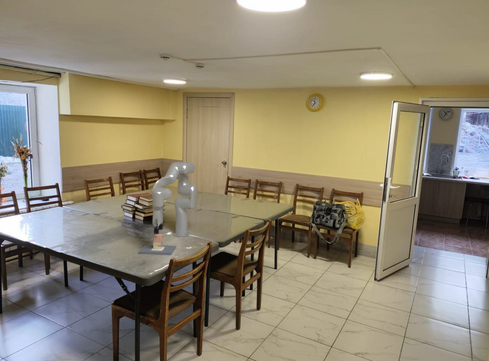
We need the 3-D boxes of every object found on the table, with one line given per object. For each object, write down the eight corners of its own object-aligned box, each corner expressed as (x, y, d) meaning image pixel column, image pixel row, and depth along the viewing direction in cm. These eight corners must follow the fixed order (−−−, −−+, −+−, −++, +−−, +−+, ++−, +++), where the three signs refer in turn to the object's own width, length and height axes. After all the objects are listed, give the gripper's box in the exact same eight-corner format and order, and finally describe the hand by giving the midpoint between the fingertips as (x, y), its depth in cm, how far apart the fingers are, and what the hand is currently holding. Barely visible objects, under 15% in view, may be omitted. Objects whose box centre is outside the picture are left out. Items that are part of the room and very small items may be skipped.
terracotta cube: (155, 240, 238) (155, 233, 238) (162, 240, 238) (162, 233, 237) (153, 242, 233) (153, 235, 233) (160, 242, 233) (160, 236, 232)
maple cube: (155, 247, 239) (155, 240, 238) (162, 247, 239) (162, 240, 238) (153, 249, 234) (153, 242, 233) (160, 249, 234) (160, 242, 233)
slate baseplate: (146, 246, 244) (146, 244, 244) (176, 247, 244) (176, 245, 244) (138, 253, 230) (138, 251, 229) (170, 255, 229) (170, 252, 229)
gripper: (156, 204, 241) (156, 227, 244) (148, 211, 224) (149, 235, 227) (166, 205, 241) (166, 228, 244) (160, 211, 224) (160, 236, 227)
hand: (158, 231), depth 235 cm, fingers open, 9 cm apart
